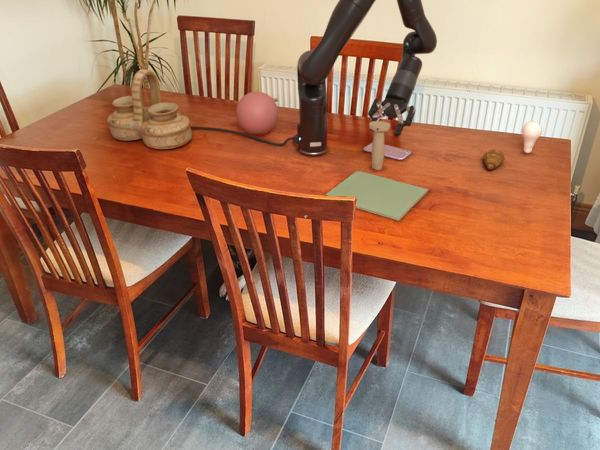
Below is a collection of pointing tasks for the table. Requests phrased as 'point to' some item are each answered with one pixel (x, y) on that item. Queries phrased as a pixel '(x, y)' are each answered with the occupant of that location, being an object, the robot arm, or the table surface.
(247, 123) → the balloon
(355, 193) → the mat
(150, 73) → the ceramic vessel
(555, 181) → the table surface
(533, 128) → the lightbulb
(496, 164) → the croissant
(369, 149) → the mobile phone
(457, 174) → the table surface
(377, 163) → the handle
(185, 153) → the table surface
